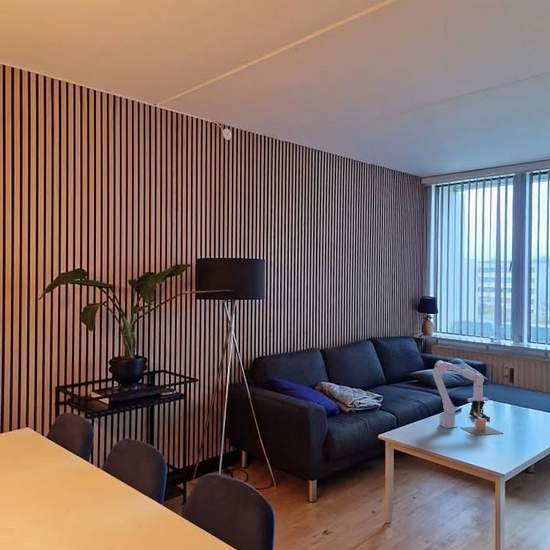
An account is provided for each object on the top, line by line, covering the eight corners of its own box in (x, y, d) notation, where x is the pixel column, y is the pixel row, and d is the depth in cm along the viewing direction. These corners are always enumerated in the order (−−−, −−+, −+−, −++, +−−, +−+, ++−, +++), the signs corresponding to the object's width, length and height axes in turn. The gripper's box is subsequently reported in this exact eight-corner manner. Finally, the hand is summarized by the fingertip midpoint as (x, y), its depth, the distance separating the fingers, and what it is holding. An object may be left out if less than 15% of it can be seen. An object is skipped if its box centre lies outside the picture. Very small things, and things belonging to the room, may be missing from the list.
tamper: (477, 416, 325) (477, 402, 325) (474, 415, 329) (474, 401, 329) (482, 416, 326) (482, 402, 326) (478, 415, 329) (479, 401, 329)
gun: (492, 402, 339) (473, 393, 351) (486, 424, 342) (468, 414, 354) (494, 402, 340) (476, 392, 352) (488, 423, 344) (470, 413, 356)
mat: (475, 435, 309) (475, 435, 309) (460, 428, 325) (460, 427, 325) (503, 433, 314) (503, 433, 314) (487, 426, 329) (487, 425, 329)
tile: (476, 430, 319) (476, 419, 319) (474, 429, 321) (474, 419, 321) (485, 429, 321) (485, 419, 321) (484, 428, 322) (484, 418, 322)
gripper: (472, 393, 322) (472, 414, 322) (491, 392, 325) (491, 413, 325) (465, 391, 329) (465, 411, 329) (484, 390, 332) (484, 410, 332)
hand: (477, 412), depth 327 cm, fingers closed on tamper, 2 cm apart
